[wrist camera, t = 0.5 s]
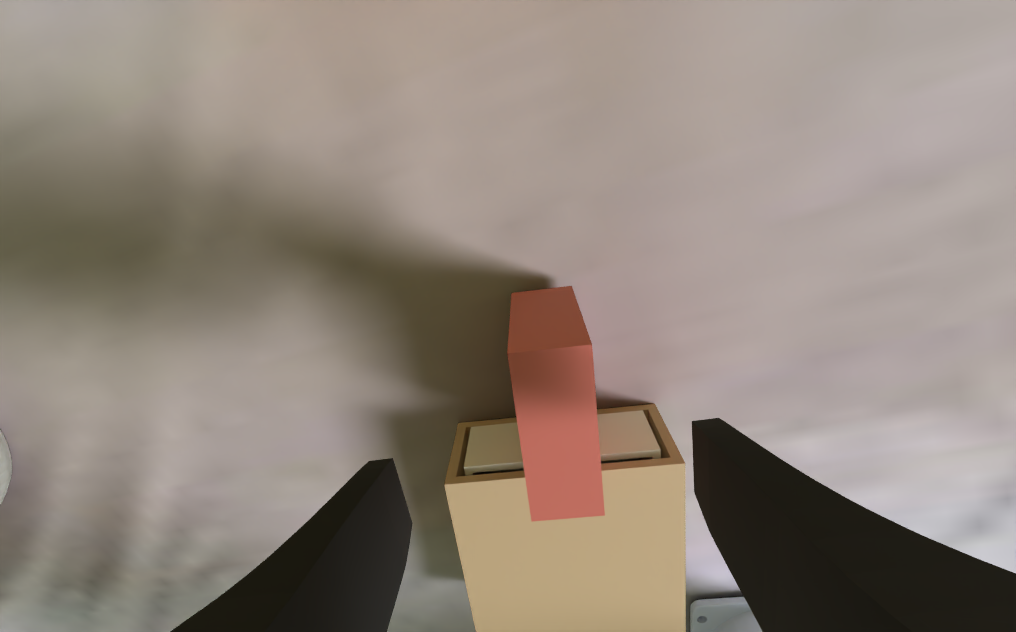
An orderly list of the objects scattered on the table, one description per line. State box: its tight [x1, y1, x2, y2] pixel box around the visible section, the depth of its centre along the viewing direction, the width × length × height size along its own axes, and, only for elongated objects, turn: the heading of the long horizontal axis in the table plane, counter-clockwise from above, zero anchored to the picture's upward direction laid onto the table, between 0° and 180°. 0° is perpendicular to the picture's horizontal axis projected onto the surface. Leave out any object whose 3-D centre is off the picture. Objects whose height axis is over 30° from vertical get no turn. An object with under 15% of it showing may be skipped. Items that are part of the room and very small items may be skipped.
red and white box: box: [464, 286, 661, 522], centre depth 19 cm, size 15×8×6 cm, turn 7°
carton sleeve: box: [444, 404, 686, 632], centre depth 21 cm, size 10×9×4 cm
